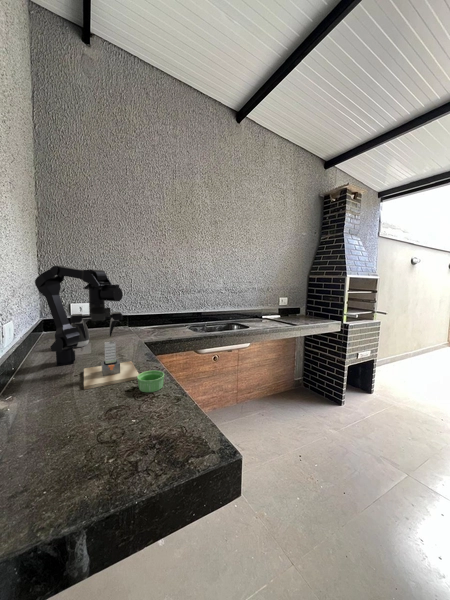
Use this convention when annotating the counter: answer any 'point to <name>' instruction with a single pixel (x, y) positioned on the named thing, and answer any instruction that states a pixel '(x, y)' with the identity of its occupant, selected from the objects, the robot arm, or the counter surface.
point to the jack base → (109, 374)
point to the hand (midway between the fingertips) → (98, 337)
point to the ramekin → (150, 381)
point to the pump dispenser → (82, 340)
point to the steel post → (110, 352)
